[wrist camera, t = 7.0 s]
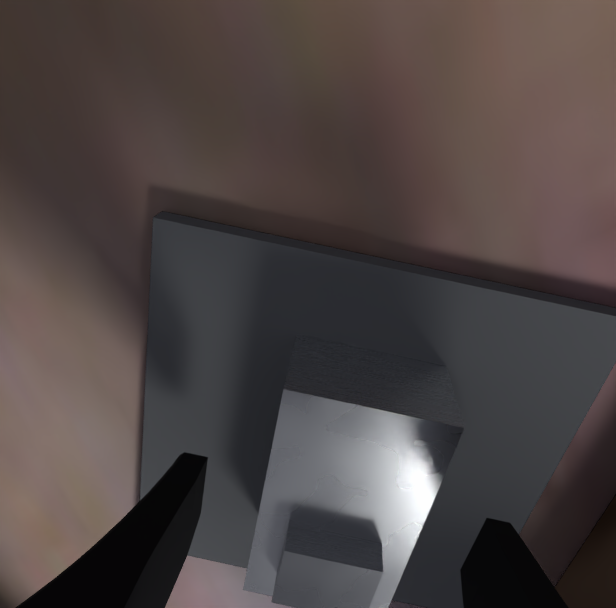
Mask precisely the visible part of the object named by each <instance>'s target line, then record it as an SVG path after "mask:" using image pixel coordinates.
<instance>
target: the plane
mask: <svg viewBox="0 0 616 608" xmlns="http://www.w3.org/2000/svg"><path fill="white" fill-rule="evenodd" d="M555 589H556V590H557V592H558V593H559V595H560V596H561V597H562V599H563V600H564V602H565V603H566V605H567V606H568V607H569V608H616V496H615V497H614V499H613V500H612V502H611V503H610V505H609V506H608V508H607V509H606V511H605V512H604V514H603V515H602V517H601V518H600V520H599V522H598V523H597V525H596V526H595V528H594V529H593V531H592V532H591V534H590V535H589V537H588V538H587V540H586V541H585V543H584V544H583V546H582V547H581V549H580V550H579V552H578V553H577V555H576V556H575V558H574V559H573V561H572V563H571V564H570V566H569V567H568V569H567V570H566V572H565V573H564V575H563V576H562V578H561V579H560V581H559V582H558V584H557V585H556V587H555Z"/></svg>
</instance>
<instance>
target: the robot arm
mask: <svg viewBox="0 0 616 608" xmlns="http://www.w3.org/2000/svg"><path fill="white" fill-rule="evenodd" d="M207 461H208V457H205V456H200V455H196V454H191V453H186V452H184V453H182V454H180V455H179V457H178V458H177V459H176V460H175V462H174V463H173V464H172V466H171V467H170V468H169V469H168V470H167V472H166V473H165V474H164V475H163V476H162V477H161V479H160V480H159V481H158V482H157V483H156V484H155V485H154V486H153V488H152V489H151V490H150V491H149V492H148V493H147V494H146V495H145V496H144V497H143V498H142V499H141V500H140V501H139V502H138V503H137V504H136V506H135V507H134V508H133V509H132V510H131V511H130V512H129V513H128V514H127V515H126V516H125V517H124V518H123V519H122V520H121V521H120V522H119V523H118V524H116V525H115V526H114V527H113V528H112V529H111V530H110V531H109V532H108V533H107V534H106V535H105V536H104V537H103V538H101V539H100V540H99V541H98V542H97V543H96V544H95V545H94V546H93V547H92V548H91V549H89V550H88V551H87V552H86V553H85V554H84V555H82V556H81V557H80V558H79V559H78V560H77V561H75V562H74V563H73V564H72V565H71V566H69V567H68V568H67V569H66V570H64V571H63V572H62V573H61V574H60V575H58V576H57V577H56V578H55V579H53V580H52V581H51V582H49V583H48V584H47V585H45V586H44V587H43V588H41V589H40V590H39V591H37V592H36V593H35V594H33V595H32V596H31V597H29V598H28V599H27V600H26V601H24V602H23V603H21V604H20V605H19V606H17V607H16V608H165V606H166V603H167V601H168V599H169V597H170V594H171V592H172V590H173V587H174V585H175V583H176V580H177V578H178V576H179V573H180V571H181V569H182V566H183V564H184V562H185V559H186V557H187V555H188V552H189V549H190V546H191V543H192V540H193V537H194V533H195V530H196V527H197V524H198V521H199V518H200V514H201V508H202V500H203V493H204V485H205V477H206V469H207ZM460 572H461V585H462V597H463V606H464V608H569V607H568V606H567V605H566V603H565V602H564V600H563V599H562V597H561V596H560V595H559V593H558V592H557V590H556V589H555V587H554V586H553V585H552V583H551V582H550V580H549V579H548V577H547V576H546V574H545V573H544V571H543V570H542V568H541V567H540V566H539V564H538V563H537V561H536V560H535V558H534V557H533V555H532V554H531V552H530V551H529V549H528V548H527V546H526V545H525V543H524V542H523V540H522V539H521V537H520V536H519V534H518V533H517V531H516V530H515V529H514V527H513V526H512V524H511V523H509V522H504V521H500V520H495V519H491V518H486V520H485V522H484V524H483V526H482V528H481V530H480V532H479V534H478V536H477V538H476V540H475V542H474V544H473V546H472V548H471V550H470V552H469V554H468V556H467V557H466V559H465V561H464V563H463V565H462V567H461V569H460Z"/></svg>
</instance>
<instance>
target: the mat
mask: <svg viewBox="0 0 616 608" xmlns="http://www.w3.org/2000/svg"><path fill="white" fill-rule="evenodd" d="M297 334H301V335H306V336H311V337H315V338H320V339H325V340H329V341H334V342H339V343H344V344H348V345H353V346H358V347H362V348H367V349H372V350H376V351H381V352H386V353H390V354H395V355H400V356H404V357H409V358H414V359H419V360H423V361H428V362H433V363H437V364H442V365H446V367H447V370H448V374H449V377H450V380H451V384H452V387H453V390H454V394H455V397H456V401H457V404H458V407H459V411H460V414H461V418H462V421H463V424H464V431H463V433H462V435H461V438H460V440H459V442H458V445H457V447H456V449H455V452H454V454H453V456H452V459H451V461H450V464H449V466H448V468H447V471H446V473H445V475H444V478H443V480H442V482H441V485H440V487H439V489H438V492H437V494H436V496H435V499H434V501H433V504H432V506H431V508H430V511H429V513H428V515H427V518H426V520H425V522H424V525H423V527H422V529H421V532H420V534H419V537H418V539H417V541H416V544H415V546H414V548H413V551H412V553H411V555H410V558H409V560H408V562H407V565H406V567H405V569H404V572H403V574H402V577H401V579H400V581H399V584H398V586H397V588H396V591H395V593H394V595H393V598H392V600H394V601H399V602H403V603H408V604H413V605H417V606H422V607H426V608H464V606H463V597H462V585H461V572H460V569H461V567H462V565H463V563H464V561H465V559H466V557H467V556H468V554H469V552H470V550H471V548H472V546H473V544H474V542H475V540H476V538H477V536H478V534H479V532H480V530H481V528H482V526H483V524H484V522H485V520H486V518H491V519H495V520H500V521H504V522H509V523H511V524H512V526H513V527H514V529H515V530H516V531H517V533H518V534H519V533H520V532H521V530H522V528H523V526H524V524H525V523H526V521H527V519H528V517H529V516H530V514H531V512H532V510H533V508H534V507H535V505H536V503H537V501H538V500H539V498H540V496H541V494H542V492H543V491H544V489H545V487H546V485H547V484H548V482H549V480H550V478H551V476H552V475H553V473H554V471H555V469H556V468H557V466H558V464H559V462H560V460H561V459H562V457H563V455H564V453H565V452H566V450H567V448H568V446H569V444H570V443H571V441H572V439H573V437H574V435H575V434H576V432H577V430H578V428H579V427H580V425H581V423H582V421H583V419H584V418H585V416H586V414H587V412H588V411H589V409H590V407H591V405H592V403H593V402H594V400H595V398H596V396H597V395H598V393H599V391H600V389H601V387H602V386H603V384H604V382H605V380H606V379H607V377H608V375H609V373H610V371H611V370H612V368H613V366H614V364H615V363H616V308H613V307H609V306H604V305H599V304H595V303H590V302H585V301H580V300H576V299H571V298H566V297H562V296H557V295H552V294H548V293H543V292H538V291H534V290H529V289H524V288H520V287H515V286H510V285H505V284H501V283H496V282H491V281H487V280H482V279H477V278H473V277H468V276H463V275H459V274H454V273H449V272H445V271H440V270H435V269H431V268H426V267H421V266H416V265H412V264H407V263H402V262H398V261H393V260H388V259H384V258H379V257H374V256H370V255H365V254H360V253H356V252H351V251H346V250H341V249H337V248H332V247H327V246H323V245H318V244H313V243H309V242H304V241H299V240H295V239H290V238H285V237H281V236H276V235H271V234H266V233H262V232H257V231H252V230H248V229H243V228H238V227H234V226H229V225H224V224H220V223H215V222H210V221H206V220H201V219H196V218H191V217H187V216H182V215H177V214H173V213H168V212H163V211H162V212H160V213H159V214H157V215H156V216H155V217H153V229H152V251H151V272H150V294H149V315H148V337H147V358H146V380H145V401H144V423H143V444H142V466H141V487H140V500H141V499H142V498H143V497H144V496H145V495H146V494H147V493H148V492H149V491H150V490H151V489H152V488H153V486H154V485H155V484H156V483H157V482H158V481H159V480H160V479H161V477H162V476H163V475H164V474H165V473H166V472H167V470H168V469H169V468H170V467H171V466H172V464H173V463H174V462H175V460H176V459H177V458H178V457H179V455H180V454H182V453H184V452H186V453H191V454H196V455H200V456H205V457H208V461H207V469H206V477H205V485H204V493H203V500H202V508H201V514H200V518H199V521H198V524H197V527H196V530H195V533H194V537H193V540H192V543H191V546H190V549H189V552H188V556H193V557H197V558H202V559H207V560H211V561H216V562H220V563H225V564H229V565H234V566H239V567H243V568H248V563H249V558H250V553H251V548H252V543H253V538H254V533H255V528H256V523H257V518H258V513H259V508H260V503H261V498H262V493H263V488H264V484H265V479H266V474H267V469H268V464H269V459H270V454H271V449H272V444H273V439H274V434H275V429H276V424H277V419H278V414H279V409H280V404H281V399H282V394H283V389H284V385H285V381H286V377H287V373H288V369H289V365H290V361H291V357H292V352H293V348H294V344H295V340H296V336H297Z"/></svg>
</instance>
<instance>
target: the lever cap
mask: <svg viewBox="0 0 616 608" xmlns="http://www.w3.org/2000/svg"><path fill="white" fill-rule="evenodd" d="M463 431H464V424H463V421H462V418H461V414H460V411H459V407H458V404H457V401H456V397H455V394H454V390H453V387H452V384H451V380H450V377H449V374H448V370H447V367H446V365H442V364H437V363H433V362H428V361H423V360H419V359H414V358H409V357H404V356H400V355H395V354H390V353H386V352H381V351H376V350H372V349H367V348H362V347H358V346H353V345H348V344H344V343H339V342H334V341H329V340H325V339H320V338H315V337H311V336H306V335H301V334H297V336H296V340H295V344H294V348H293V352H292V357H291V361H290V365H289V369H288V373H287V377H286V381H285V385H284V389H283V394H282V399H281V404H280V409H279V414H278V419H277V424H276V429H275V434H274V439H273V444H272V449H271V454H270V459H269V464H268V469H267V474H266V479H265V484H264V488H263V493H262V498H261V503H260V508H259V513H258V518H257V523H256V528H255V533H254V538H253V543H252V548H251V553H250V558H249V563H248V568H247V573H246V578H245V583H244V588H243V590H246V591H251V592H256V593H260V594H265V595H269V596H273V597H272V602H273V603H278V604H282V605H287V606H291V607H296V608H388V607H389V605H390V602H391V600H392V598H393V595H394V593H395V591H396V588H397V586H398V584H399V581H400V579H401V577H402V574H403V572H404V569H405V567H406V565H407V562H408V560H409V558H410V555H411V553H412V551H413V548H414V546H415V544H416V541H417V539H418V537H419V534H420V532H421V529H422V527H423V525H424V522H425V520H426V518H427V515H428V513H429V511H430V508H431V506H432V504H433V501H434V499H435V496H436V494H437V492H438V489H439V487H440V485H441V482H442V480H443V478H444V475H445V473H446V471H447V468H448V466H449V464H450V461H451V459H452V456H453V454H454V452H455V449H456V447H457V445H458V442H459V440H460V438H461V435H462V433H463Z"/></svg>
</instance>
